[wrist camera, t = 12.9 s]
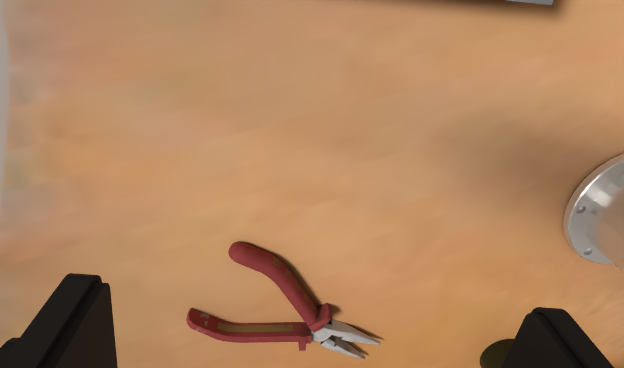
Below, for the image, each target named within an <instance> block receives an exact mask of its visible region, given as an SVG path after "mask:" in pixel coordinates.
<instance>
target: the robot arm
mask: <svg viewBox="0 0 624 368" xmlns="http://www.w3.org/2000/svg"><path fill="white" fill-rule="evenodd" d="M563 230H564V235H565V238H566V240H567V242H568V244H569V245H570V246H571V247H572V249H573V250H574V251H575V252H576V253H578V254H579V255H580V256H581V257H582V258H584V259H586V260H589V261H591V262H595V263H599V264H615V265H616V266H617V267H619V268H620V269H621V270H622V271H623V272H624V153H623V154H621V155H618V156H616V157H614V158H612V159H610V160H609V161H607V162H605V163H604V164H602V165H601V166H599V167H598V168H597V169H595V170H594V171H593V172H592V173H591V174H589V175H588V176H587V177H586V178H585V179H584V181H583V182H582V183H581V184H580V185H579V186H578V188H577V189H576V190H575V192H574V193H573V195H572V196H571V198H570V200H569V203H568V205H567V207H566V210H565V214H564V218H563ZM0 368H117V357H116V347H115V336H114V325H113V315H112V304H111V293H110V286H109V284H108V283H102V280H101V278H100V276H98V275H86V274H73V273H70V274H68V275H67V276H66V277H65V278H64V279H63V280H62V282H61V283H60V284H59V286H58V287H57V288H56V290H55V291H54V292H53V294H52V295H51V296H50V298H49V299H48V300H47V302H46V303H45V305H44V306H43V307H42V309H41V310H40V311H39V313H38V314H37V315H36V317H35V318H34V319H33V321H32V322H31V323H30V325H29V326H28V328H27V329H26V330H25V332H24V333H23V334H22V336H21V337H20V338H12V339H10V340H8V341H7V342H6V343H5V344H4V345H3V346H2V347H1V348H0ZM501 368H614V367H613V366H612V365H611V364H610V362H609V361H608V360H607V359H606V358H605V356H604V355H603V354H602V353H601V352H600V350H599V349H598V348H597V347H596V346H595V344H594V343H593V342H592V341H591V340H590V338H589V337H588V336H587V335H586V334H585V333H584V331H583V330H582V329H581V328H580V327H579V325H578V324H577V323H576V322H575V321H574V319H573V318H572V317H571V316H570V315H569V314H568V313H567V312H566V311H565V310H563V309H556V308H542V307H538V308H535V309H533V311H532V312H531V313H529V314H527V315H526V317H525V318H524V320H523V323H522V325H521V327H520V329H519V331H518V333H517V335H516V337H515V339H514V341H513V344H512V346H511V348H510V350H509V352H508V354H507V356H506V358H505V360H504V362H503V365H502V367H501Z"/></svg>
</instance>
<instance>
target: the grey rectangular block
mask: <svg viewBox="0 0 624 368" xmlns="http://www.w3.org/2000/svg"><path fill="white" fill-rule="evenodd" d="M507 1H517V2H526V3H535V4H545V5H552V4H553V0H507Z"/></svg>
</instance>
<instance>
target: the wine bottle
mask: <svg viewBox="0 0 624 368" xmlns="http://www.w3.org/2000/svg"><path fill="white" fill-rule="evenodd" d="M513 341H514V340H513V339H507V340H502V341H498V342H496V343H494V344H492V345H490V346H489V347H488V348H487V349H486V350H485V351H484V352H483V353H482V355H481V358H480V365H481V368H501V367H502V365H503V362H504V360H505V358H506V356H507V354H508V352H509V350H510V348H511V346H512V344H513Z"/></svg>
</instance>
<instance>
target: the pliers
mask: <svg viewBox="0 0 624 368" xmlns="http://www.w3.org/2000/svg"><path fill="white" fill-rule="evenodd" d="M229 256H230V257H231V259H233V260H234V261H235V262H237V263H239V264H241V265H244V266H246V267H249V268H251V269H254V270H256V271H259V272H261V273H263V274H265V275H266V276H268V277H269V278H270V279H272V280H273V281H274V282H275V283H276V284H277V285H278V287H279V288H280V289H281V291H282V292H283V293H284V294H285V296H286V297H287V298H288V300H289V301H290V302H291V304H292V305H293V306H294V308H295V309H296V310H297V312H298V313H299V314H300V316H301V317H302V318H303V320H304V321H305V322H284V323H233V322H227V321H223V320H220V319H217V318H215V317H213V316H210V315H208V314H205V313H203V312H201V311H198V310H196V309H193V308H191V309H190V311H189V312H188V315H187V324H188V325H189V327H190V328H192V329H194V330H196V331H198V332H201V333H203V334H206V335H208V336H210V337H213V338H215V339H218V340H222V341H227V342H238V343H250V342H299V351H303V350H305V349H306V343H311V340H314V341H318V342H321V345H322V346H324V347H326V348H328V349H330V350H333V351H336V352H340V353H343V354H347V355H351V356H354V357H358V358H362V359H365V356H364V355H362V354H361V353H360V352H358V351H357V350H356V349H355V348H353V347H352V346H351V345H349V344H348V343H347V342H346V341H350V342H358V343H367V344H377V345H380V342H379V341H377V340H376V339H374V338H372V337H370V336H368V335H366V334H364V333H362V332H360V331H358V330H357V329H355V328H353V327H351V326H349V325H347V324H345V323H342V322H339V321H336V320H332V319H331V311H330V307H329V305H328V304H327V303H326V304H324V305H321V306H319V307H317V308H316V306H315V305H314V303H313V302H312V301H311V299H310V298H309V296H308V295H307V294H306V292H305V291H304V290H303V288H302V287H301V285H300V284H299V283H298V281H297V280H296V278H295V277H294V276H293V274H292V273H291V272H290V270H289V269H288V268H287V267H286V265H285V264H284V263H283V262H282V261H281V260H279V259H278V258H277V257H276V256H274V255H273V254H271V253H269V252H266V251H264V250H262V249H259V248H257V247H254V246H252V245H249V244H247V243H245V242H235V243H233V244H232V245H231V247H230V248H229ZM330 320H331V321H330ZM329 321H330V323H329V324H328V322H329ZM340 337H341V338H340ZM344 340H345V341H344Z"/></svg>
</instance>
